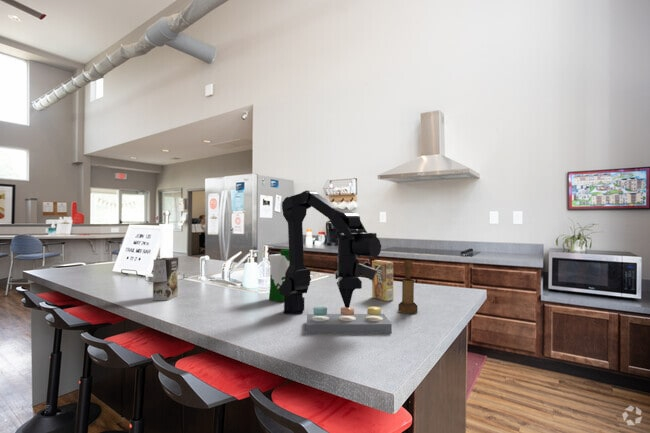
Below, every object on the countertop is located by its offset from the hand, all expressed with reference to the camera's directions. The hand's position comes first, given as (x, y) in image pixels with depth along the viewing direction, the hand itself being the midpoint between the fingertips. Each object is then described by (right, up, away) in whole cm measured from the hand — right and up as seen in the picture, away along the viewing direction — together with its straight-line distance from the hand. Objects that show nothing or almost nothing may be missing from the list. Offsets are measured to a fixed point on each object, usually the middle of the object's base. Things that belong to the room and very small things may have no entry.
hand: (347, 307), depth 103 cm
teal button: (-8, -2, 0) cm, 8 cm away
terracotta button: (0, -2, 0) cm, 2 cm away
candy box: (+17, -7, +38) cm, 42 cm away
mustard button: (+8, -2, 0) cm, 8 cm away
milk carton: (-24, -7, +36) cm, 44 cm away
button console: (0, -6, 0) cm, 6 cm away
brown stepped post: (+22, -7, +19) cm, 30 cm away
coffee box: (-71, -6, +38) cm, 81 cm away
